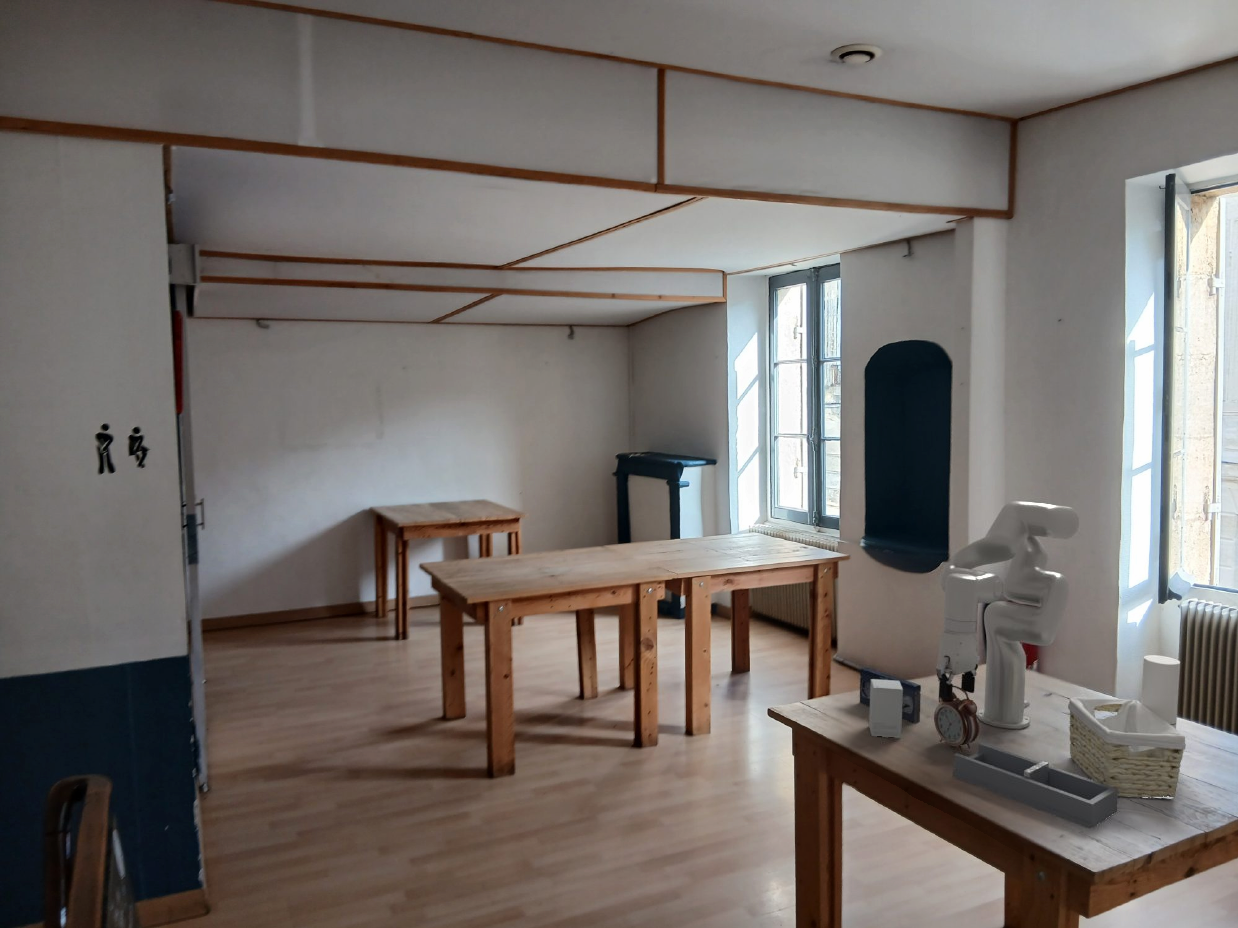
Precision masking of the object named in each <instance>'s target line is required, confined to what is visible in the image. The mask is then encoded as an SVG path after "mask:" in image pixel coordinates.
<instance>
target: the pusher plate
mask: <svg viewBox="0 0 1238 928" xmlns="http://www.w3.org/2000/svg"><path fill="white" fill-rule="evenodd" d="M1049 763H1050V762H1046V761H1041V762H1040V763H1039V764H1037V765H1035V766H1033V767H1031V768H1029V769H1027V770H1025V771H1024V777H1025V778H1028V779H1030V780H1033V781H1036V782H1039V783H1042V784H1044V785H1048V769H1049V766H1050V765H1049Z"/></svg>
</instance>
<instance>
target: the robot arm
mask: <svg viewBox="0 0 1238 928" xmlns="http://www.w3.org/2000/svg"><path fill="white" fill-rule="evenodd" d="M1079 526H1080V517H1079V514H1078V512H1077V510H1075V509H1074V508H1073V507H1070V506H1064V505H1054V504H1049V503H1048V504H1047V503H1039V502H1031V501H1020V500H1019V501H1018V500H1017V501H1015V500H1014V501H1011V502H1008V503H1005V504H1004V506H1003V507H1002V508H1001V510H999V513H998V514H997V516H996V518H995V520H994V521H993V523H992V524H991V526H990V528H989V529H988V531H987V532H986V535H985V536H984V537H982V538H980V539H977V540H975V541H972V542H971V543H969V544H968V545H966V546H964V547H962V548H960V549H959V550H958V551H956V552H955V553H954V554H953V555H952V557H951V558H950V560H949V562H948V563H947V565H946V566H945V568H944V570H943V572H942V575H941V579H940V586H941V589H942V592H943V593H944V612H943V613H944V614H943V628H942V630H943V631H942V632H941V635H940V642H939V647H938V656H937V665H936V666H935V670H936V671H935V672H936V677H937V680H938V682H939V683H938V685H939V686H938V698H939V697H940V698H943V699H946V700H949V701H950V700H952V692H953V688H954V687H953V686H954V684H953V683H952V681H953V680H954V678H955V676H958V675H961V683H960V684H961V685H960V686H961V687H960V688H962V689H963V690H964V691H966V692H967V693H970V694H974V693H975V684H976V676H977V670H978V668H979V663H980V662H979V661H980V658H981V656H980V655H978V654H977V653H978V643H977V640H978V639H977V634H978V633H977V631H978V615H979V613H978V612H979V604H988V605H987V606H986V608H985V610H984V614H983V621H984V629H985V634H986V638H985V639H986V659H985V660H986V661H985V682H984V683H985V687H984V688H985V689H984V705H983V706H984V707H983V708H982V709H979V711H977V718H978V720H980V721H981V722H982V723H985V724H987V725H990V726H992V727H996V728H1001V729H1008V730H1009V729H1010V730H1013V729H1014V730H1017V729H1019V730H1020V729H1024V728H1027V727H1029V726H1030V723H1031V719H1030V718H1029V717H1028V716H1027V715H1026V714H1024V713H1025V712H1024V711H1025V709H1027V708H1029V707H1031V706H1030V702H1029V700H1026V699H1025V695H1026V694H1025V692H1026V690H1025V688H1026V672H1027V671H1026V668H1027V656H1026V652H1025V650H1024V648H1023V646H1022V644H1021V643H1023V644H1024V643H1025V644H1029V645H1035V646H1041V647H1047V646H1049V645H1051V644H1053V642H1054V641H1055V639H1056V636H1057V635H1058V631H1059V628H1060V627H1061V626H1060V625H1061V623H1062V619H1063V616H1064V614H1065V611H1066V607H1067V605H1068V601H1069V598H1070V597H1069V596H1070V584H1069V581H1068V579H1067V577H1066V576H1065V575H1063V574H1062V573H1059V572H1056V571H1049V570H1046V568H1047V566H1048V562H1049V554H1048V551H1047V550H1046V548H1045V546H1044V545H1043V544H1042V542H1041V541H1040V539H1039V538H1038V537H1043V538H1052V539H1061V540H1068V539H1071V538H1073V537H1074V536H1075V535H1076V533H1077V532H1078V530H1079V528H1080V527H1079ZM1009 560H1010V563H1009V566H1008V568H1007V572H1006V574H1005V577H1004V579H1001V577H1000V576H999V575H997V574H995V573H993V572H989V571H982V570H977V569H975V568H979V567H982V566H985V565H993V564H998V563H1003V562H1006V561H1009ZM1002 595H1003V596H1004V597H1005V598H1006V599H1007V600H1010V601H1005V600H1004V601H1003V600H999V599H1000V598H1001V597H1002ZM947 675H948V676H947Z"/></svg>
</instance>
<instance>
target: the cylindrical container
mask: <svg viewBox="0 0 1238 928" xmlns="http://www.w3.org/2000/svg"><path fill="white" fill-rule="evenodd" d="M1142 665H1143V666H1142V667H1143V668H1142V684H1141V685H1142V686H1141V699H1140V701H1141V702H1140V703H1141V704H1143V705H1144V706H1146V707H1147V708H1148V709H1150V710H1151V711H1152V712H1153V713H1155V714H1156V715H1157V716H1159V717H1160V718H1162V719H1163V720H1164V721H1166V722H1167V723H1168V724H1170V725H1171V726H1173V727H1174V728H1175V729H1176V730H1177V721H1178V720H1177V719H1178V705H1179V703H1178V701H1179V700H1178V699H1179V685H1180V670H1181V669H1180V668H1181V661H1180V660H1178V659H1176V658H1173V657H1170V656H1164V655H1154V654H1149V655H1148V654H1147V655H1144V656H1143V663H1142Z"/></svg>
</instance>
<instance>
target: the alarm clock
mask: <svg viewBox="0 0 1238 928" xmlns="http://www.w3.org/2000/svg"><path fill="white" fill-rule="evenodd" d="M953 688H954V689H958V690H959V691H961V692H963V693H964V695H965V697H966V698H962V699H960V698H959V697H957V694H956V693H955V692H954V691H952V700H950V701H949V700H946V699H943V698H940V697H939V696H938V697H937V698H938V703H939V704H938V705H937V706H936V708H935V711H934V714H933V720H934V721H933V722H934V725H935V730H936V732H937V734H938V736H939V737H940V739H939V742H940V743H942V742H943V741H944V742H945V743H946V744H947V745H950V746H953V747H958V750H959V752H960V753H963V750H962V746H967V747H968V749H969V750H970V749H971V746H970V744H971V743H973V742H975V741H976V740H977V738H978V736H979V732H980V721H979V718H978V706H977V704H976V703H975V702H974V700H973V699H970V698H969V694H968V692H966V691H964V690H963V689H962V688H961V687H960V686H957V685H953Z"/></svg>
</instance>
